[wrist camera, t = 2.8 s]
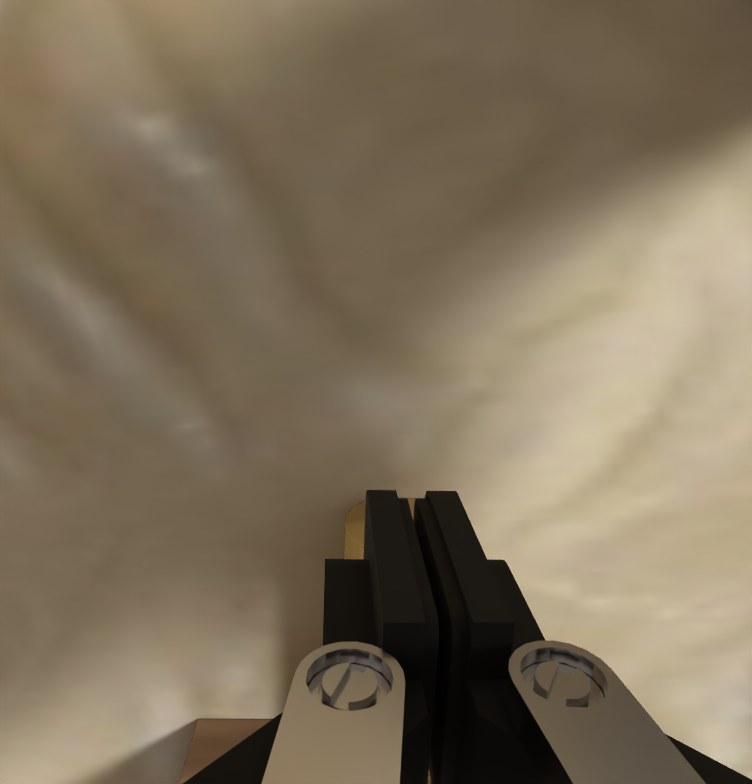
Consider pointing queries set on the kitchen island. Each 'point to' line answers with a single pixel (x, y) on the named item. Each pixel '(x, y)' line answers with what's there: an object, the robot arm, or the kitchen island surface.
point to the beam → (216, 741)
